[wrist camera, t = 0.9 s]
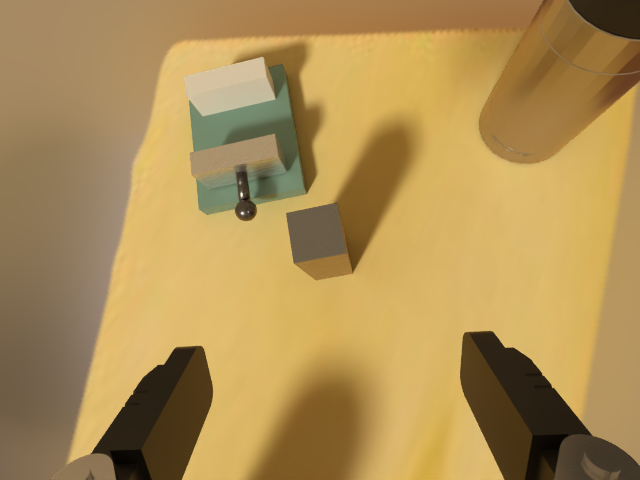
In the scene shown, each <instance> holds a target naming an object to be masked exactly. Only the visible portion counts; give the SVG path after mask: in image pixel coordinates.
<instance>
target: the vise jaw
mask: <svg viewBox="0 0 640 480" xmlns="http://www.w3.org/2000/svg"><path fill="white" fill-rule="evenodd" d="M190 161H191V172H192V176H193V177H195V178H196V179H197V180H198V181H200V182H201V183H202V184H203V185H204V186H206V187H207V188H208V189H213V188H217V187H222V186H227V185H231V184H236V183H237V190H238V198H239V202H238V203H237V205H236V207H235V213H236V216H237V217H238V218H239V219H240V220H242V221H250V220H252V219H253V218H254V217H255V216H256V213H257V208H256V205H255V204H254V203H253V202H252V201H250V200H251V199H250V191H249V183H248V181H250V180H255V179H259V178H264V177H269V176H273V175H278V174H283V173H287V169H286V162H285V156H284V151H283V149H282V147H281V145H280V143H279V141H278V139H277V137H276V135H275V134H271V135H267V136H262V137H258V138H254V139H249V140H245V141H240V142H236V143H231V144H227V145H222V146H218V147H214V148H209V149H205V150H200V151H196V152H191V153H190Z"/></svg>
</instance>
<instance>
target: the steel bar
mask: <svg viewBox="0 0 640 480" xmlns="http://www.w3.org/2000/svg"><path fill="white" fill-rule="evenodd" d="M286 215H287V222H288V229H289V235H290V242H291V248H292V255H293V261H294V264H295V265H297V266H298V267H299V268H301V269H302V270H303V271H304V272H306V273H307V274H308V275H310V276H311V277H312V278H314V279H315V280H321V279H326V278H331V277H337V276H342V275H347V274H353V272H352V267H351V262H350V256H349V251H348V246H347V241H346V236H345V232H344V228H343V224H342V221H341V217H340V213H339V209H338V205H337V203H333V204H328V205H323V206H319V207H314V208H309V209H304V210H299V211H294V212H289V213H286Z"/></svg>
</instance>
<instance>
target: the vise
mask: <svg viewBox="0 0 640 480" xmlns="http://www.w3.org/2000/svg"><path fill="white" fill-rule="evenodd" d="M184 79H185V90H186V96H187V98H188V99H189V105H190V116H191V127H192V137H193V148H194V152H196V151H200V150H205V149H209V148H214V147H218V146H222V145H227V144H231V143H236V142H240V141H245V140H249V139H254V138H258V137H262V136H267V135H271V134H275V135H276V137H277V139H278V141H279V143H280V145H281V147H282V149H283V151H284V156H285V162H286V169H287V173H283V174H278V175H273V176H269V177H264V178H259V179H255V180H250V181H248V183H249V191H250V199H251V200H250V201H252V202H253V203H254V204H255V205H256V204H261V203H265V202H270V201H275V200H280V199H285V198H289V197H294V196H299V195H304V194H307V192H306V186H305V180H304V174H303V169H302V163H301V157H300V151H299V145H298V139H297V133H296V127H295V122H294V116H293V110H292V104H291V98H290V92H289V86H288V80H287V75H286V72H285V69H284V66H283V64H280V65H276V66H272V67H267V65H266V62H265V59H264V57H260V58H256V59H252V60H248V61H244V62H240V63H236V64H232V65H228V66H224V67H219V68H215V69H211V70H207V71H203V72H199V73H195V74H191V75H187V76H184ZM196 181H197V192H198V203H199V210H201V211H202V212H204V213H205V214H207V215H208V214H213V213H217V212H222V211H227V210H232V209H235V207H236V205H237V203H238V202H239V198H238V190H237V183H236V184H231V185H227V186H222V187H217V188H213V189H208V188H207V187H206V186H204V185H203V184H202V183H201V182H200V181H198V180H197V179H196Z"/></svg>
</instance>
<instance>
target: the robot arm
mask: <svg viewBox="0 0 640 480" xmlns="http://www.w3.org/2000/svg"><path fill="white" fill-rule="evenodd" d="M639 81H640V0H543V2H542V4H541V5H540V7H539V9H538V11H537V13H536V14H535V16H534V18H533V20H532V22H531V23H530V25H529V27H528V29H527V31H526V32H525V34H524V36H523V38H522V40H521V41H520V43H519V45H518V47H517V48H516V50H515V52H514V54H513V56H512V57H511V59H510V61H509V63H508V65H507V66H506V68H505V70H504V72H503V74H502V75H501V77H500V79H499V81H498V83H497V84H496V86H495V88H494V89H493V91H492V93H491V95H490V97H489V98H488V100H487V102H486V104H485V106H484V107H483V110H482V112H481V115H480V121H479V127H480V133H481V135H482V138H483V140H484V142H485V143H486V145H487V146H488V147H489V148H490V149H491V150H492V151H493V152H494V153H495V154H497V155H498V156H500V157H502V158H504V159H506V160H509V161H512V162H517V163H536V162H540V161H543V160H546V159H548V158H550V157H551V156H553V155H555V154H556V153H557V152H558V151H560V150H561V149H562V148H563V147H564V146H565V145H566V144H568V143H569V142H570V141H571V140H572V139H573V138H575V137H576V136H577V135H578V134H579V133H581V132H582V131H583V130H584V129H585V128H586V127H587V126H589V125H590V124H591V123H592V122H593V121H594V120H596V119H597V118H598V117H599V116H600V115H601V114H602V113H604V112H605V111H606V110H607V109H608V108H609V107H610V106H612V105H613V104H614V103H615V102H616V101H617V100H619V99H620V98H621V97H622V96H623V95H624V94H625V93H627V92H628V91H629V90H630V89H631V88H632V87H634V86H635V85H636V84H637V83H638V82H639ZM460 379H461V385H462V389H463V393H464V395H465V397H466V400H467V402H468V404H469V406H470V408H471V410H472V412H473V414H474V416H475V419H476V421H477V423H478V425H479V427H480V429H481V431H482V433H483V435H484V437H485V440H486V442H487V444H488V446H489V448H490V450H491V452H492V454H493V456H494V458H495V461H496V463H497V465H498V467H499V469H500V471H501V473H502V475H503V477H504V479H505V480H640V466H639V465H638V464H637V462H636V461H635V460H634V459H633V458H632V457H631V456H630V455H628V454H627V453H626V452H625V451H623V450H622V449H620V448H619V447H617V446H616V445H614V444H612V443H610V442H608V441H606V440H603V439H601V438H598V437H594V436H592V435H591V433H590V432H589V431H588V430H587V428H586V427H585V426H584V425H583V423H582V422H581V421H580V420H579V419H578V417H577V416H576V415H575V414H574V412H573V411H572V410H571V409H570V407H569V406H568V405H567V404H566V402H565V401H564V400H563V399H562V397H561V396H560V395H559V394H558V393H557V391H556V390H555V389H554V388H552V385H551V384H550V383H549V381H548V380H547V379H546V378H545V376H542V373H541V371H540V370H539V369H538V368H537V366H536V365H535V364H534V363H533V362H532V360H531V359H530V358H528V357H527V356H525V355H524V354H522V353H521V352H519V351H518V350H516V349H515V348H505V347H504V346H503V344H502V343H501V342H500V340H499V339H498V338H497V336H496V335H495V334H494V333H493V332H492V331H481V332H465V333H464V335H463V342H462V356H461V369H460ZM212 397H213V386H212V381H211V377H210V372H209V368H208V364H207V360H206V355H205V351H204V349H203V347H202V346H189V347H176V348H175V349H174V350H173V352H172V353H171V355H170V356H169V358H168V359H167V361H166V363H165V364H164V365H158V366H156V367H155V368H154V369H153V370H152V371H150V372H149V373H148V374H147V375H146V376H144V377H143V379H142V380H141V381H140V383H139V384H138V386H137V387H136V389H135V390H134V392H133V395H131V396H130V397H129V399H128V400H127V402H126V403H125V407H123V408H122V409H121V411H120V412H119V414H118V415H117V416H116V418H115V419H114V421H113V422H112V424H111V425H110V427H109V428H108V430H107V431H106V432H105V434H104V435H103V437H102V438H101V440H100V441H99V443H98V444H97V446H96V447H95V448H94V450H93V451H92V453H91V454H90V455H86V456H83V457H81V458H78V459H76V460H74V461H73V462H71V463H69V464H68V465H66V466H65V467H63V468H62V469H61V470H60V471H58V472H57V473H56V474H55V475H54V476H53V477H52V478H51V479H50V480H182V478H183V475H184V473H185V470H186V467H187V465H188V462H189V460H190V457H191V455H192V452H193V450H194V447H195V445H196V442H197V440H198V437H199V434H200V432H201V429H202V427H203V424H204V422H205V419H206V417H207V414H208V412H209V409H210V406H211V403H212Z"/></svg>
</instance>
